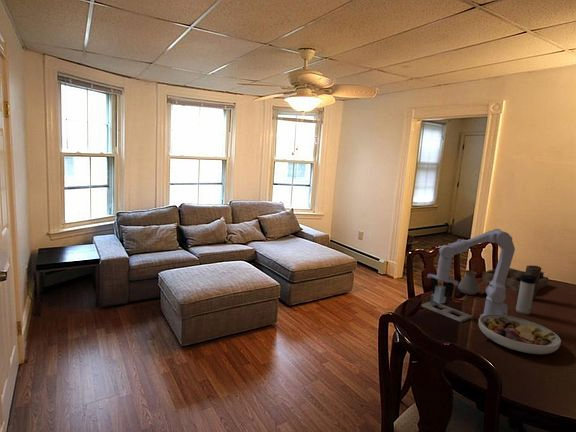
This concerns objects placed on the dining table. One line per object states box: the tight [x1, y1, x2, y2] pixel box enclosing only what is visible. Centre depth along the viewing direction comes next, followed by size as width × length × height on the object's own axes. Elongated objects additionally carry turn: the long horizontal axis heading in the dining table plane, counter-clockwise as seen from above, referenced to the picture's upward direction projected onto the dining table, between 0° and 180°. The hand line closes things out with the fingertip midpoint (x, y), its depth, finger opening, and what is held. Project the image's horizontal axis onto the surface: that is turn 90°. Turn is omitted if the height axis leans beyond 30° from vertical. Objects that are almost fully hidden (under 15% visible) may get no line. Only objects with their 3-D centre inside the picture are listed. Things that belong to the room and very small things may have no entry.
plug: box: [433, 284, 447, 304], centre depth 182 cm, size 4×4×8 cm
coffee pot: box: [457, 263, 480, 296], centre depth 216 cm, size 21×12×15 cm, turn 144°
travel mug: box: [515, 275, 537, 316], centre depth 186 cm, size 6×7×20 cm
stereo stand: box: [481, 267, 549, 293], centre depth 235 cm, size 27×32×7 cm
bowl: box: [477, 314, 562, 355], centre depth 155 cm, size 30×30×8 cm
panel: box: [421, 300, 472, 323], centre depth 180 cm, size 21×10×1 cm, turn 37°
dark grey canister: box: [524, 264, 542, 301], centre depth 208 cm, size 8×7×20 cm
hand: (440, 295), depth 183 cm, fingers closed on plug, 5 cm apart
